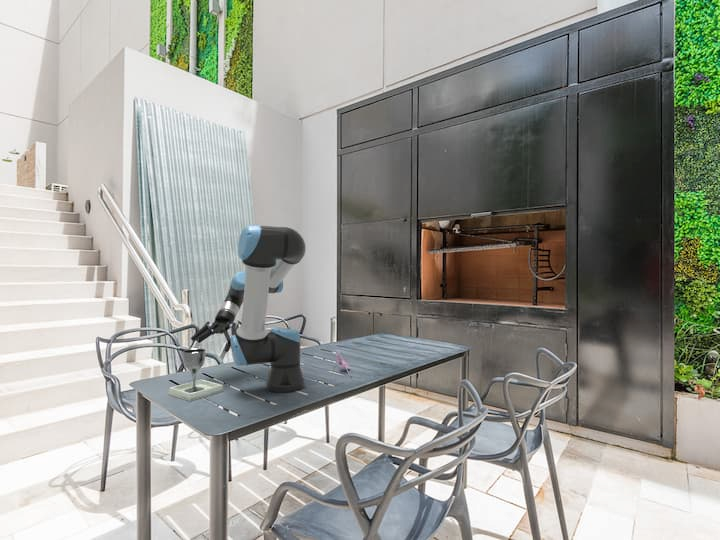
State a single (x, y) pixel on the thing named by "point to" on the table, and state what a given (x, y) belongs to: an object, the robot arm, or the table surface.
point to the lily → (341, 361)
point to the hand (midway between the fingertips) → (205, 357)
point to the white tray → (208, 390)
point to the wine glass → (194, 365)
